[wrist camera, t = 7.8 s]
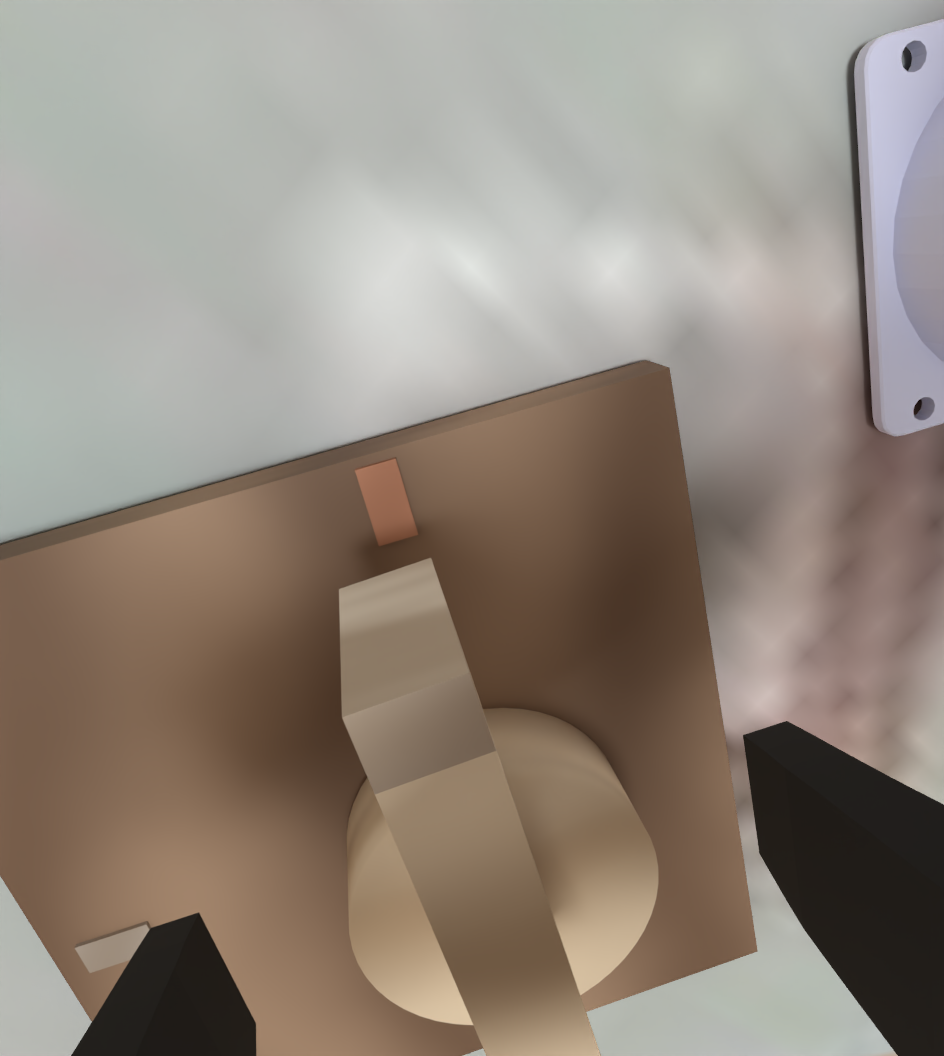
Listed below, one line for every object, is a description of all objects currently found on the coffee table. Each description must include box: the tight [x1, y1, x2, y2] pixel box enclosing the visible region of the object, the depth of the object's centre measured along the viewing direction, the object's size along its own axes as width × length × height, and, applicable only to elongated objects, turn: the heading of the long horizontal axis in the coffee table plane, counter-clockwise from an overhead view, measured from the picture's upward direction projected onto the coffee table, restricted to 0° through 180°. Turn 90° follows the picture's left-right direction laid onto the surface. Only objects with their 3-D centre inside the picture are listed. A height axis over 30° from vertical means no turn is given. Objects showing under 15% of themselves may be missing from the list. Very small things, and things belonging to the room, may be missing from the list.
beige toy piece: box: [339, 558, 658, 1056], centre depth 14 cm, size 11×6×6 cm, turn 17°
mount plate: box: [0, 360, 757, 1056], centre depth 18 cm, size 16×16×1 cm
